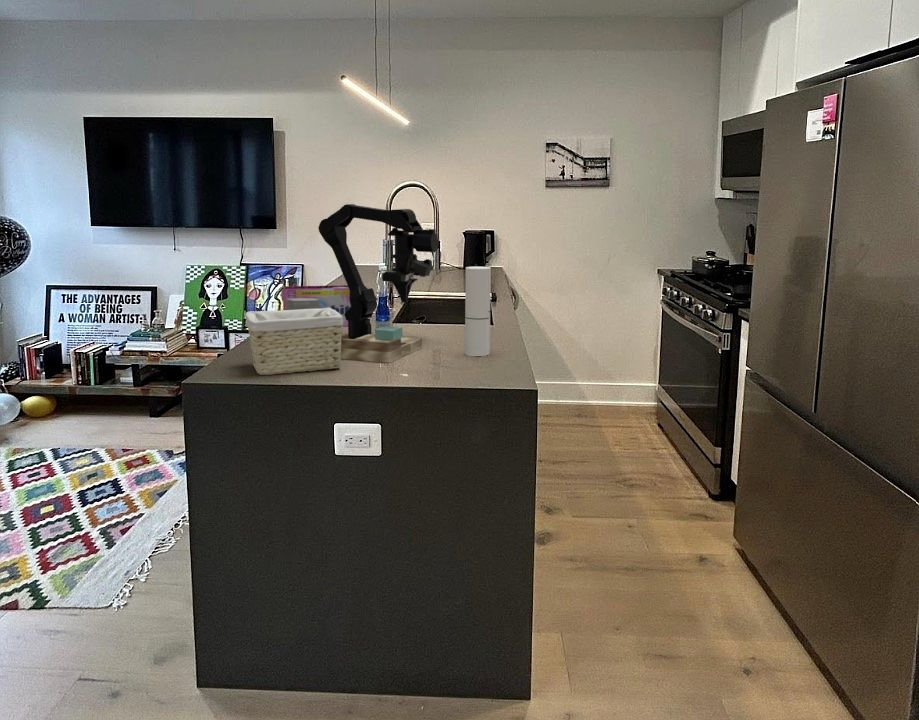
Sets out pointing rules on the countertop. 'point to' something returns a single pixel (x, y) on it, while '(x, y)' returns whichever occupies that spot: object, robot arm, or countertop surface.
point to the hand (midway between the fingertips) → (404, 302)
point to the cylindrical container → (477, 311)
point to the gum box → (321, 297)
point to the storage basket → (295, 340)
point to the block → (388, 333)
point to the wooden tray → (378, 348)
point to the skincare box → (302, 303)
